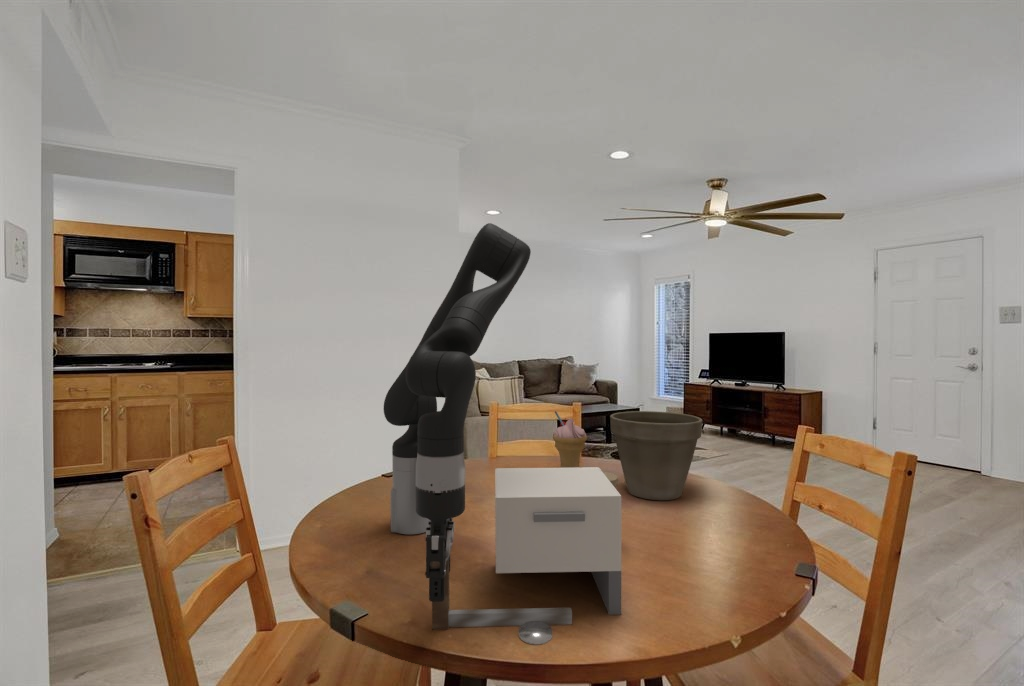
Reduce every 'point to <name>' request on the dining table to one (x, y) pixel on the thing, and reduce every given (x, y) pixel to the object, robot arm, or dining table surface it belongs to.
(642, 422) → the plant pot
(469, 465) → the dining table surface
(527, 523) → the cabinet
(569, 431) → the ice cream cone
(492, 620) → the blade tool
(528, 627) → the ball
